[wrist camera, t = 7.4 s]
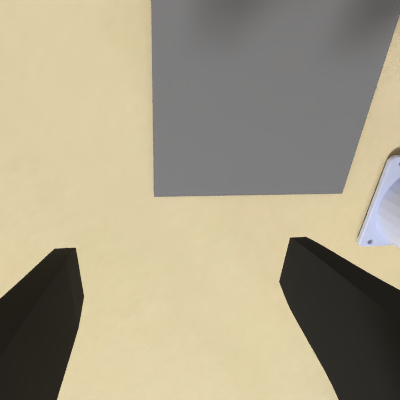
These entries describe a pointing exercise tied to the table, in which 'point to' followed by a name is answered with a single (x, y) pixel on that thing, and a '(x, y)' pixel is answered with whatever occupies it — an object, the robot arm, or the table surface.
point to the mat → (263, 92)
